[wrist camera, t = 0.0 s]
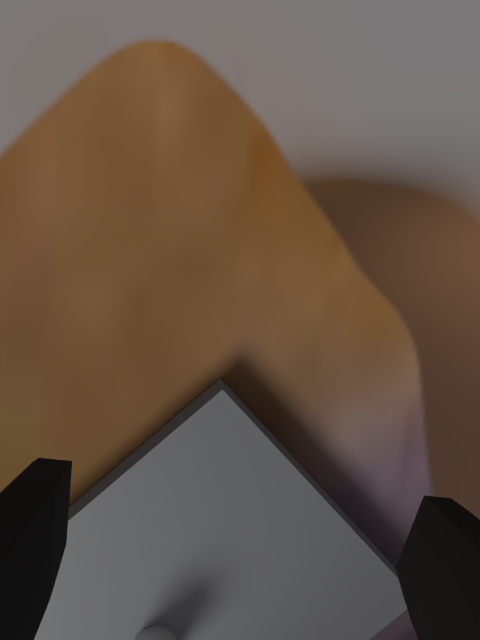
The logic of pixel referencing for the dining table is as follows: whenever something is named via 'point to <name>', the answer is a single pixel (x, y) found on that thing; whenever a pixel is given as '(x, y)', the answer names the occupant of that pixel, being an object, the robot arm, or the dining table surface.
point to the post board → (216, 544)
